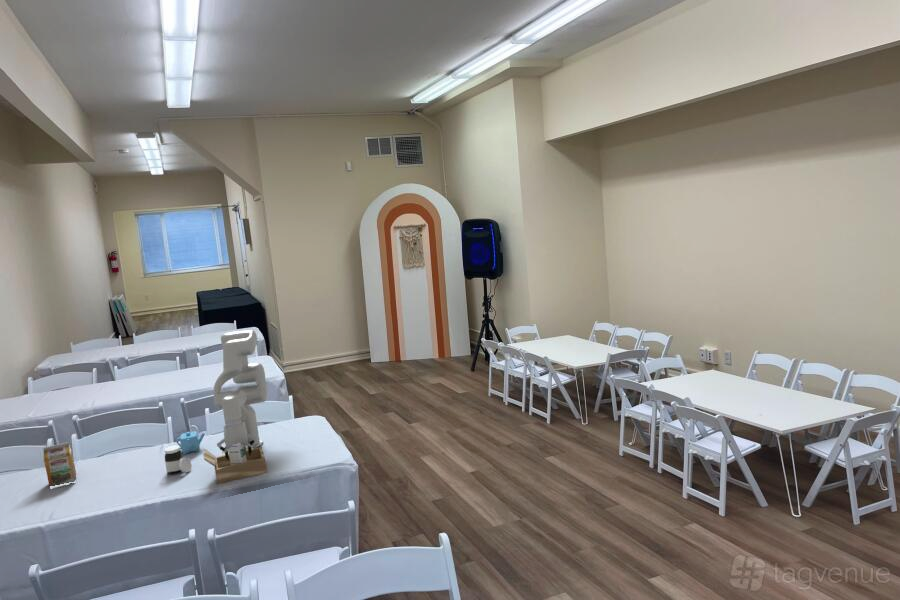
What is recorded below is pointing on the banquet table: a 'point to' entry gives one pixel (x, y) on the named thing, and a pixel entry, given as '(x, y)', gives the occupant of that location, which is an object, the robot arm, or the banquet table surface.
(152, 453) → the banquet table surface
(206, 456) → the flap
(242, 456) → the syrup box
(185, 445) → the teapot
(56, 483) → the yellow food package
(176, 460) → the spread jar
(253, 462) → the wooden square tray
